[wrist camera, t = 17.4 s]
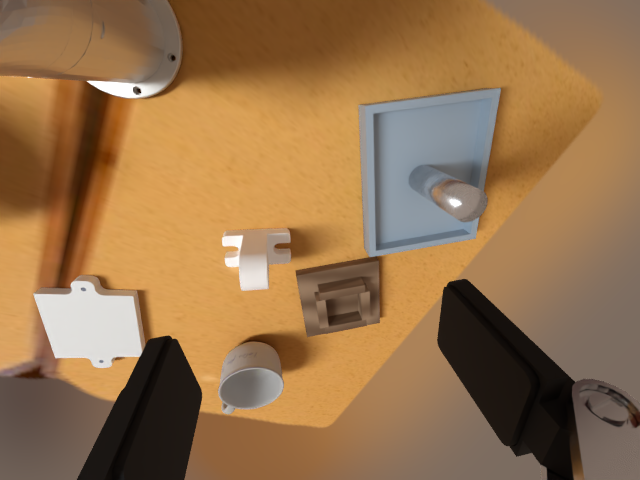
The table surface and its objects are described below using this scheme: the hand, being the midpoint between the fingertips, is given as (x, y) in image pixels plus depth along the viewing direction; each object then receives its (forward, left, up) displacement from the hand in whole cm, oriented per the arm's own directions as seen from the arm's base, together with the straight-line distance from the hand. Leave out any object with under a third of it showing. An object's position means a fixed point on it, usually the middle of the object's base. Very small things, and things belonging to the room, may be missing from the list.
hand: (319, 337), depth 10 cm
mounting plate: (+22, -34, -34) cm, 53 cm away
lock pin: (+6, +20, -32) cm, 38 cm away
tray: (+6, +20, -33) cm, 39 cm away
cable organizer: (+13, -6, -34) cm, 37 cm away
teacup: (+37, -13, -34) cm, 52 cm away
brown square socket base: (+26, +6, -33) cm, 43 cm away
